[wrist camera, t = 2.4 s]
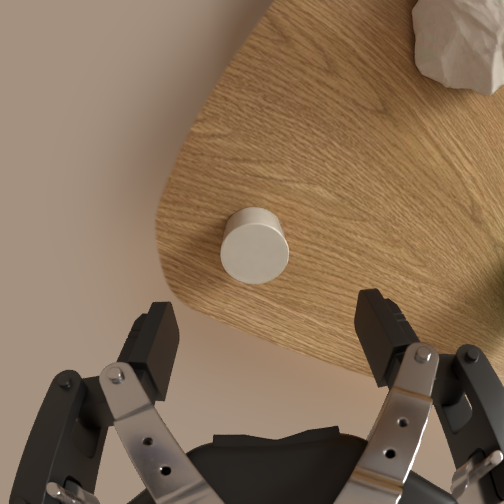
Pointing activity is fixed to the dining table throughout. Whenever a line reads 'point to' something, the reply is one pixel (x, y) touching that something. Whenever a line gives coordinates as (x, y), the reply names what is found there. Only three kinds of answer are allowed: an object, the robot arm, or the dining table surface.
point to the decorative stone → (461, 43)
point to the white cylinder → (254, 246)
